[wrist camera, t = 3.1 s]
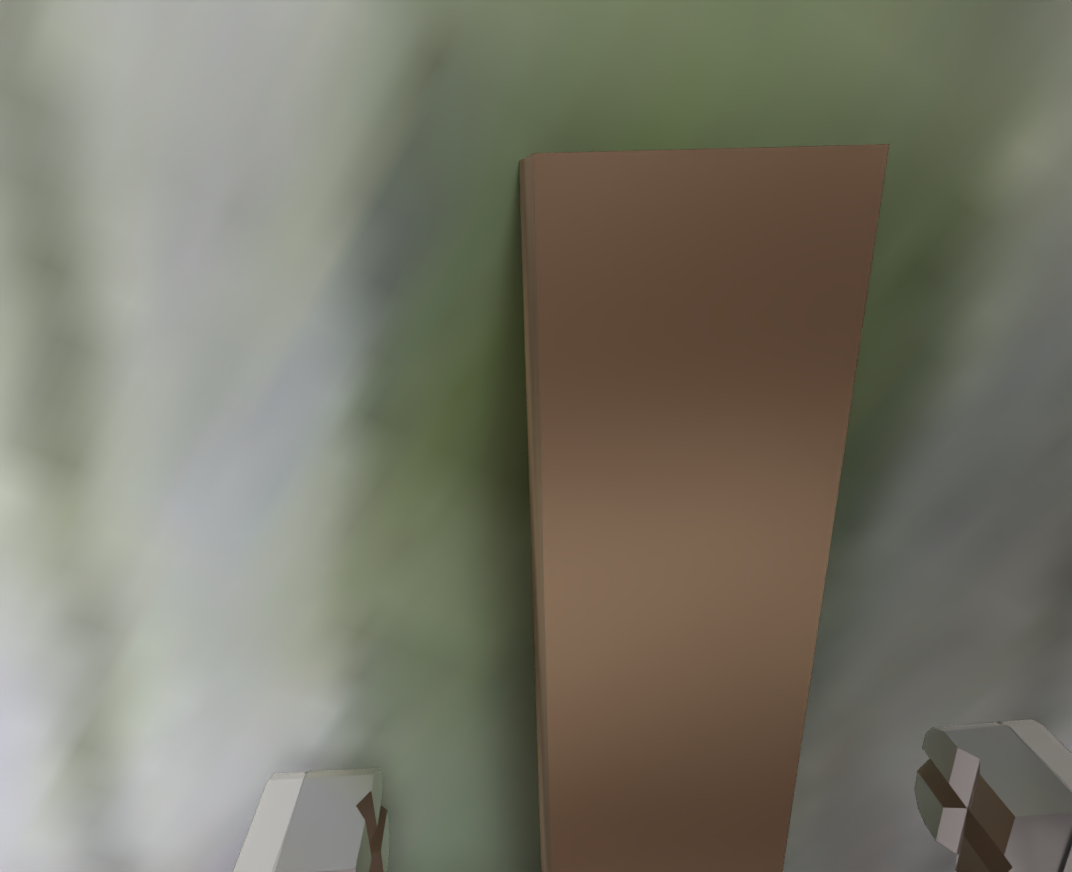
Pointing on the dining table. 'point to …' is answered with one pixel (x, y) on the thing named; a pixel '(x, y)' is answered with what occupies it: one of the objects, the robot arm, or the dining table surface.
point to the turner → (684, 485)
